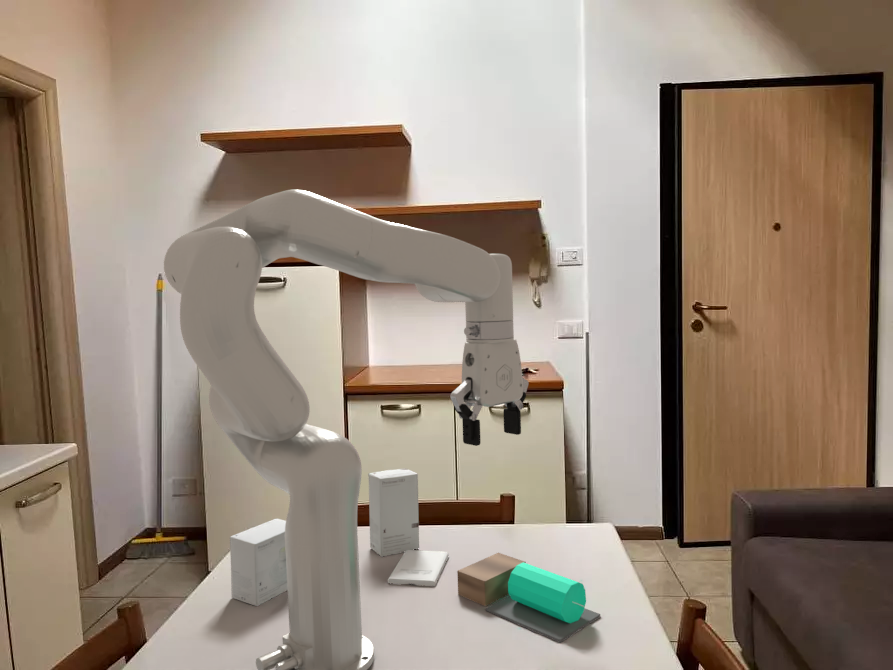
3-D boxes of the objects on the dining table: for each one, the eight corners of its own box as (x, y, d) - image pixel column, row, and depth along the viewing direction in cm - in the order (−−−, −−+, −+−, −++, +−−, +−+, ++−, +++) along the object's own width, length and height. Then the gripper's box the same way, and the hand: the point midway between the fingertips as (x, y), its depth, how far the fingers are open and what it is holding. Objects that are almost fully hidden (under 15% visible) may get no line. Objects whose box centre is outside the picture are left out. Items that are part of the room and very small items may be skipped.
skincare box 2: (381, 558, 127) (377, 479, 126) (369, 547, 132) (365, 472, 131) (421, 548, 131) (419, 472, 130) (408, 539, 136) (405, 465, 135)
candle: (510, 562, 106) (574, 586, 97) (535, 561, 110) (598, 583, 101) (505, 602, 105) (568, 629, 96) (529, 599, 109) (592, 625, 100)
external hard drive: (448, 560, 127) (435, 589, 114) (405, 558, 128) (387, 586, 116) (448, 551, 127) (434, 580, 114) (405, 549, 128) (387, 577, 116)
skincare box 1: (258, 607, 109) (254, 543, 108) (230, 598, 112) (227, 536, 112) (304, 582, 118) (302, 522, 117) (278, 575, 121) (275, 517, 120)
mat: (560, 642, 95) (560, 639, 95) (485, 610, 105) (485, 608, 105) (600, 616, 102) (600, 614, 102) (527, 589, 112) (527, 586, 112)
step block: (485, 606, 107) (484, 581, 106) (458, 594, 111) (457, 570, 111) (526, 585, 114) (525, 561, 113) (499, 575, 118) (498, 552, 118)
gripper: (469, 337, 100) (472, 452, 101) (542, 329, 112) (544, 432, 113) (433, 335, 105) (437, 445, 106) (507, 328, 117) (510, 426, 118)
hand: (492, 438), depth 110 cm, fingers open, 9 cm apart
